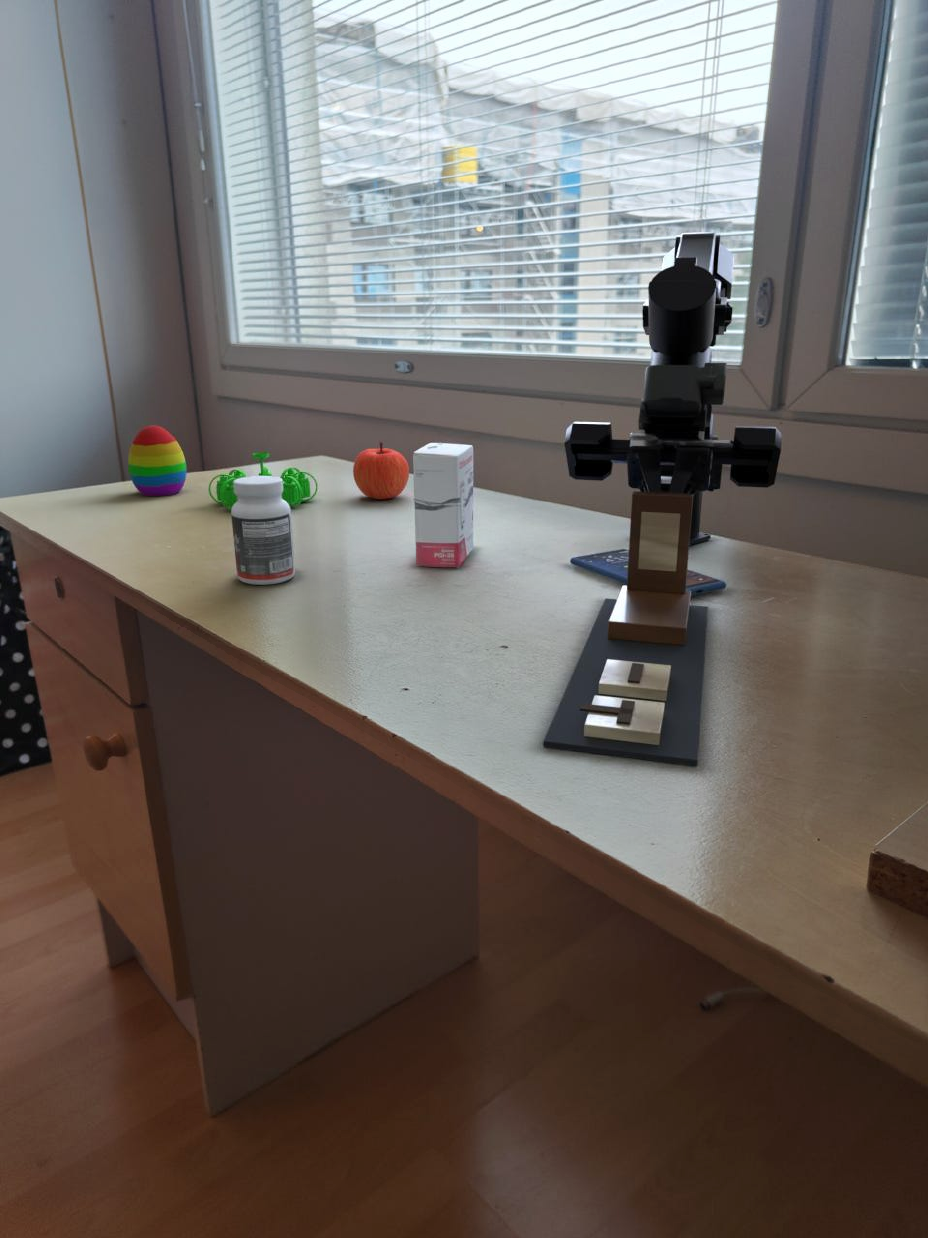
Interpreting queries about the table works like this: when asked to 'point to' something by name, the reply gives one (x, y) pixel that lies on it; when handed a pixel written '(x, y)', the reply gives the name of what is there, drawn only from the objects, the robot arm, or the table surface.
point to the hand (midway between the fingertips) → (661, 532)
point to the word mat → (634, 696)
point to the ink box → (443, 504)
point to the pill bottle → (262, 531)
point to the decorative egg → (156, 462)
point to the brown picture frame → (655, 571)
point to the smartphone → (617, 569)
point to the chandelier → (293, 484)
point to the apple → (380, 473)
